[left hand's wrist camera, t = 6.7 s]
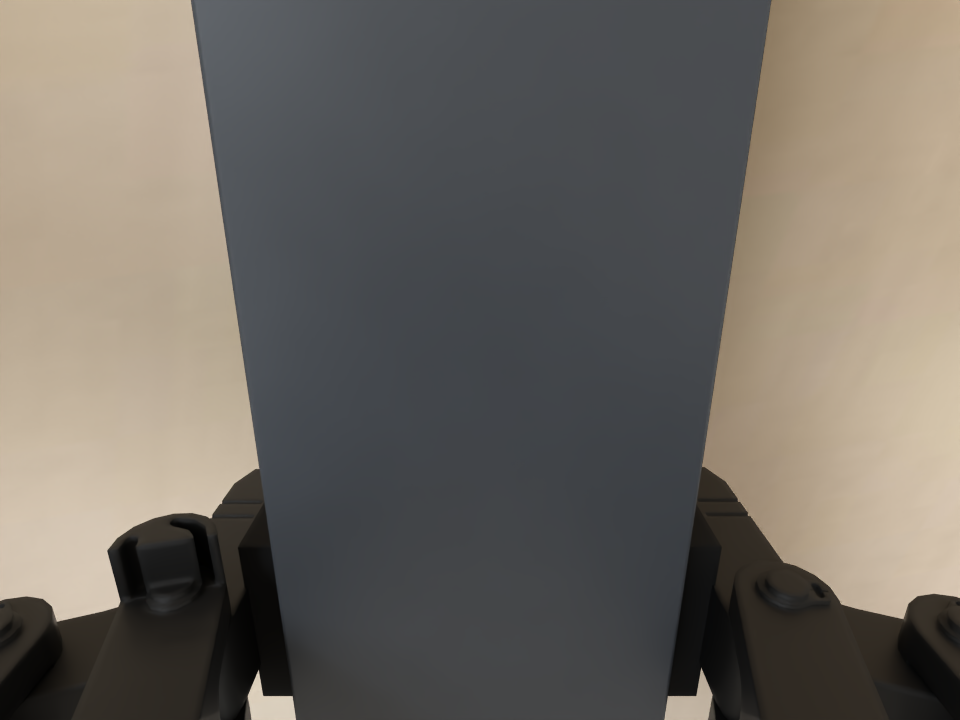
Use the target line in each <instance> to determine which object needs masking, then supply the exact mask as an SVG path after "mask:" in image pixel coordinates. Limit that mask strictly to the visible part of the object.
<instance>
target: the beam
mask: <svg viewBox="0 0 960 720" xmlns="http://www.w3.org/2000/svg"><path fill="white" fill-rule="evenodd" d="M191 4H192V11H193V17H194V24H195V31H196V38H197V45H198V52H199V58H200V65H201V72H202V79H203V86H204V93H205V99H206V106H207V113H208V120H209V127H210V134H211V140H212V147H213V154H214V161H215V168H216V175H217V181H218V188H219V195H220V202H221V209H222V216H223V223H224V229H225V236H226V243H227V250H228V257H229V264H230V270H231V277H232V284H233V291H234V298H235V305H236V311H237V318H238V325H239V332H240V339H241V346H242V352H243V359H244V366H245V373H246V380H247V387H248V393H249V400H250V407H251V414H252V421H253V428H254V434H255V441H256V448H257V455H258V462H259V469H260V475H261V482H262V489H263V496H264V503H265V510H266V516H267V523H268V530H269V537H270V544H271V551H272V557H273V564H274V571H275V578H276V585H277V592H278V598H279V605H280V612H281V619H282V626H283V633H284V639H285V646H286V653H287V660H288V667H289V674H290V680H291V687H292V694H293V701H294V708H295V715H296V720H664V718H665V711H666V704H667V698H668V691H669V684H670V677H671V671H672V664H673V657H674V650H675V644H676V637H677V630H678V624H679V617H680V610H681V603H682V597H683V590H684V583H685V577H686V570H687V563H688V556H689V550H690V543H691V536H692V530H693V523H694V516H695V509H696V503H697V496H698V489H699V482H700V476H701V469H702V462H703V456H704V449H705V442H706V435H707V429H708V422H709V415H710V409H711V402H712V395H713V388H714V382H715V375H716V368H717V361H718V355H719V348H720V341H721V335H722V328H723V321H724V314H725V308H726V301H727V294H728V288H729V281H730V274H731V267H732V261H733V254H734V247H735V241H736V234H737V227H738V220H739V214H740V207H741V200H742V193H743V187H744V180H745V173H746V167H747V160H748V153H749V146H750V140H751V133H752V126H753V120H754V113H755V106H756V99H757V93H758V86H759V79H760V72H761V66H762V59H763V52H764V46H765V39H766V32H767V25H768V19H769V12H770V5H771V0H191Z"/></svg>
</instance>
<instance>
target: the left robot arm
mask: <svg viewBox="0 0 960 720" xmlns="http://www.w3.org/2000/svg"><path fill="white" fill-rule="evenodd" d="M107 552H108V555H109V559H110V563H111V567H112V570H113V574H114V578H115V582H116V585H117V589H118V593H119V597H120V600H121V602H120V605H119V607H117V608H114V609H110V610H107V611H103V612H99V613H95V614H90V615H86V616H81V617H77V618H72V619H68V620H63V621H59V622H57V621H56V618H55V615H54V612H53V609H52V606H50V605H49V604H48V603H47V602H46V601H45V600H43V599H39V598H33V597H20V598H12V599H5V600H2V601H0V720H251V714H250V707H249V701H248V694H249V691H250V689H251V687H252V684H253V682H254V679H255V677H256V675H257V672H258V670H259V674H260V679H261V685H262V691H263V696H293V694H292V687H291V680H290V674H289V667H288V660H287V653H286V646H285V639H284V633H283V626H282V619H281V612H280V605H279V598H278V592H277V585H276V578H275V571H274V564H273V557H272V551H271V544H270V537H269V530H268V523H267V516H266V510H265V503H264V496H263V489H262V482H261V475H260V469H255V470H254V471H252V472H251V473H249V474H248V475H246V476H245V477H243V478H242V479H241V480H239V481H238V482H236V483H235V484H234V485H233V486H232V488H231V489H230V491H229V492H228V494H227V495H226V496H225V498H224V499H223V501H222V504H220V505H219V506H218V508H217V509H216V510H215V512H214V513H213V515H212V518H210V519H209V518H208V517H206V516H202V515H198V514H194V513H184V514H171V515H167V516H162V517H158V518H154V519H151V520H149V521H147V522H144V523H142V524H140V525H137V526H135V527H133V528H132V529H130V530H129V531H127V532H126V533H124V534H123V535H121V536H120V537H119V538H117V539H116V541H115V542H114V543H113V544H112V546H111V547H110V548H109V549H108V550H107ZM701 668H702V670H703V672H704V675H705V677H706V680H707V682H708V684H709V687H710V689H711V692H712V694H713V696H712V701H711V707H710V712H709V718H708V720H960V598H958V597H953V596H946V595H938V594H930V595H923V596H917V597H916V598H915V599H914V600H913V601H911V602H910V603H909V604H908V607H907V610H906V613H905V617H904V619H899V618H895V617H890V616H886V615H881V614H877V613H872V612H868V611H863V610H859V609H855V608H852V607H848V606H845V605H841V603H840V601H839V600H838V598H837V597H836V595H835V594H834V592H833V591H832V589H831V588H830V587H829V586H828V585H826V584H825V583H824V582H823V581H821V580H820V579H819V578H818V577H816V576H815V575H813V574H811V573H809V572H807V571H805V570H803V569H801V568H799V567H797V566H794V565H790V564H787V563H783V561H782V560H781V559H780V557H779V556H778V554H777V553H776V552H775V550H774V549H773V547H772V546H771V545H770V543H769V542H768V540H767V539H766V538H765V536H764V535H763V533H762V532H761V531H760V529H759V528H758V527H757V525H756V524H755V522H754V521H753V520H752V518H751V517H750V516H748V513H747V511H746V510H745V508H744V507H743V506H742V504H741V503H740V502H738V499H737V497H736V496H735V494H734V493H733V492H732V490H731V489H730V487H729V486H728V485H727V483H726V482H725V481H724V480H722V479H721V478H719V477H718V476H716V475H715V474H713V473H712V472H711V471H709V470H708V469H706V468H705V467H702V469H701V476H700V482H699V489H698V496H697V503H696V509H695V516H694V523H693V530H692V536H691V543H690V550H689V556H688V563H687V570H686V577H685V583H684V590H683V597H682V603H681V610H680V617H679V624H678V630H677V637H676V644H675V650H674V657H673V664H672V671H671V677H670V684H669V691H668V696H696V694H697V689H698V683H699V677H700V671H701Z"/></svg>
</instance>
